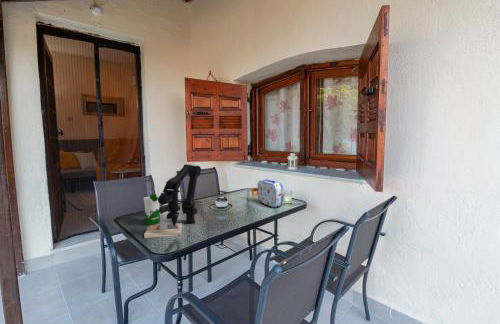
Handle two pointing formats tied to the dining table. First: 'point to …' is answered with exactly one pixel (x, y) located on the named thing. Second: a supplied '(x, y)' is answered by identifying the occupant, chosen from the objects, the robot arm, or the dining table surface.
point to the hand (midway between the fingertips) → (174, 225)
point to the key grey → (164, 226)
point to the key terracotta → (154, 228)
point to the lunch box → (270, 193)
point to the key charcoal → (174, 226)
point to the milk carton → (152, 210)
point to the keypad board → (163, 231)
